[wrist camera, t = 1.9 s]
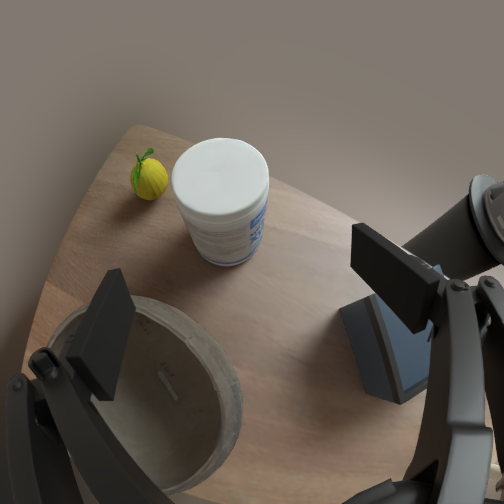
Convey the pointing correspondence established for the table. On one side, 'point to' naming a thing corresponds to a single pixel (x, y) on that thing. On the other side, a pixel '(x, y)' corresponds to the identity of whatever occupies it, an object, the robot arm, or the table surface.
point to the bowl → (170, 396)
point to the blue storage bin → (387, 349)
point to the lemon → (148, 177)
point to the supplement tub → (222, 198)
